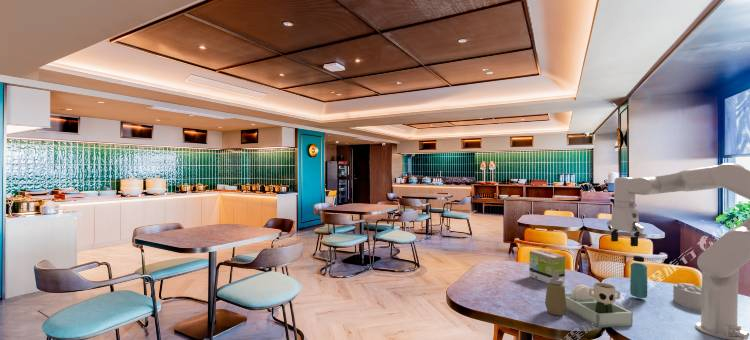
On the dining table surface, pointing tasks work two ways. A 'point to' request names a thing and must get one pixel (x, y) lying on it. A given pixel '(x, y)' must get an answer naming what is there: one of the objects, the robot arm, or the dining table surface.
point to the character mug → (604, 297)
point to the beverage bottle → (638, 278)
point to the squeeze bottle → (555, 295)
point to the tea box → (546, 265)
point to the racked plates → (581, 293)
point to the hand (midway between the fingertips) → (624, 243)
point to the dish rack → (602, 319)
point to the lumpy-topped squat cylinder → (688, 295)
